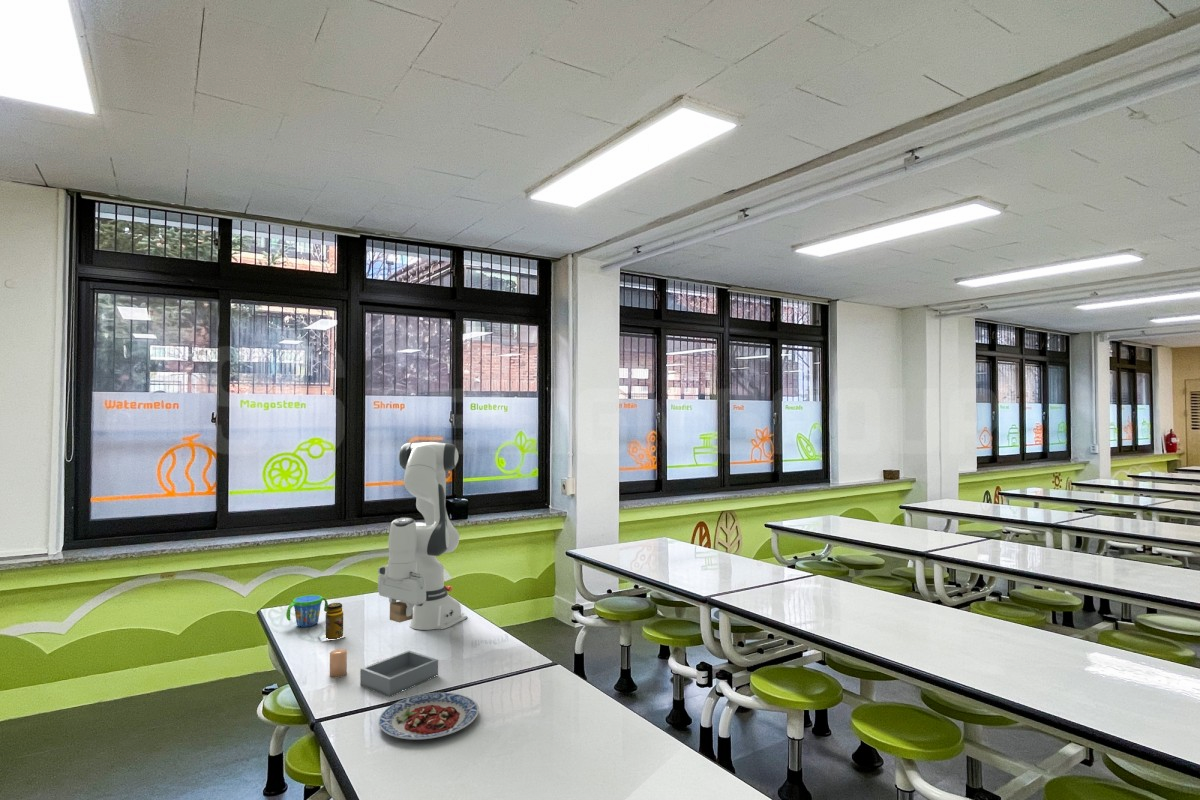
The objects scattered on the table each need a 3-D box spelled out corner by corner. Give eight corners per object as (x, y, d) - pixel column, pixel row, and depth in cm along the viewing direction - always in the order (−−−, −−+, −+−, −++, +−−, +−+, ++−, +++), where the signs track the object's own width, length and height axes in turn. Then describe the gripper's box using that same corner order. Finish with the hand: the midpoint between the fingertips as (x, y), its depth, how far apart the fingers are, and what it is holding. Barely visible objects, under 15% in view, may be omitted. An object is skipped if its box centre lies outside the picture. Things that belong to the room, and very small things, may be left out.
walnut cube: (402, 616, 208) (403, 600, 208) (412, 618, 205) (413, 602, 205) (389, 619, 204) (389, 603, 204) (399, 622, 201) (399, 606, 201)
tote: (409, 665, 209) (409, 650, 209) (438, 675, 201) (438, 659, 201) (360, 685, 194) (360, 668, 194) (389, 696, 186) (389, 679, 186)
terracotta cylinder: (340, 669, 206) (340, 647, 206) (350, 673, 203) (350, 651, 203) (326, 675, 202) (326, 652, 202) (335, 679, 199) (335, 656, 199)
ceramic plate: (496, 708, 179) (496, 697, 179) (444, 754, 155) (444, 742, 155) (417, 694, 188) (417, 684, 188) (356, 737, 164) (356, 725, 164)
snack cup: (322, 617, 259) (322, 591, 259) (333, 623, 252) (333, 597, 252) (281, 626, 248) (281, 599, 248) (291, 632, 241) (291, 605, 241)
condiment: (346, 638, 235) (346, 605, 235) (321, 643, 230) (321, 609, 230) (341, 632, 241) (341, 600, 241) (317, 637, 236) (317, 604, 236)
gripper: (431, 572, 201) (430, 617, 201) (391, 564, 213) (390, 606, 213) (415, 576, 196) (414, 622, 196) (374, 567, 208) (373, 610, 208)
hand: (401, 614), depth 204 cm, fingers closed on walnut cube, 5 cm apart
